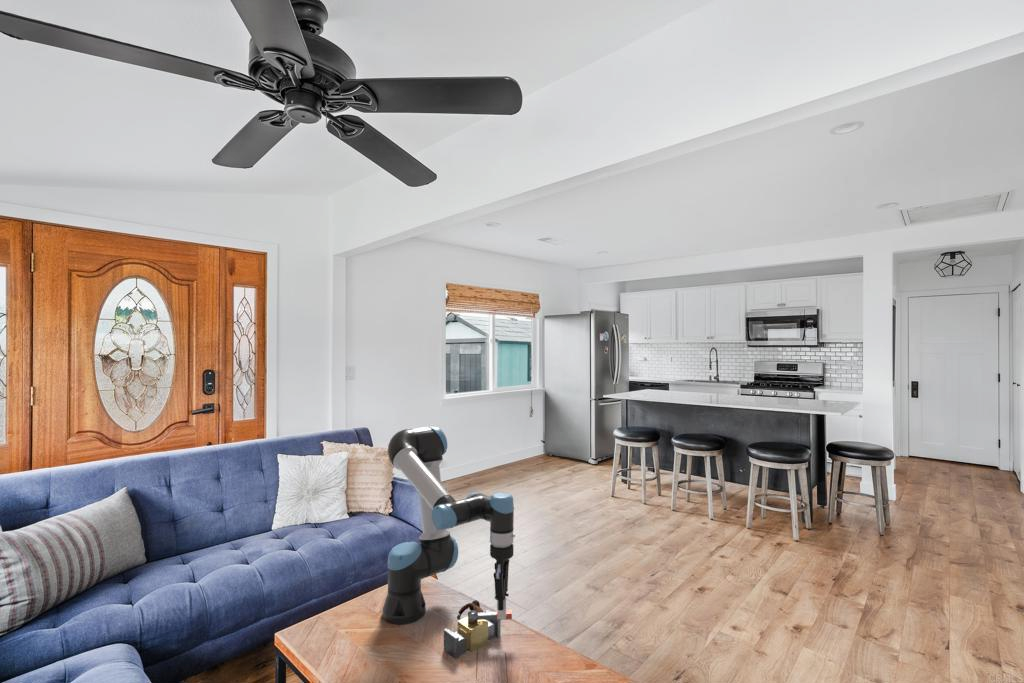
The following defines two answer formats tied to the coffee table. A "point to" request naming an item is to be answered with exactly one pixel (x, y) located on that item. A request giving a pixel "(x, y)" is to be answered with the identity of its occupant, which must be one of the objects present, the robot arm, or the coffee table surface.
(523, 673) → the coffee table surface
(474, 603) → the pottery mug
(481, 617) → the lever
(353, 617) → the coffee table surface
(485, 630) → the valve body
